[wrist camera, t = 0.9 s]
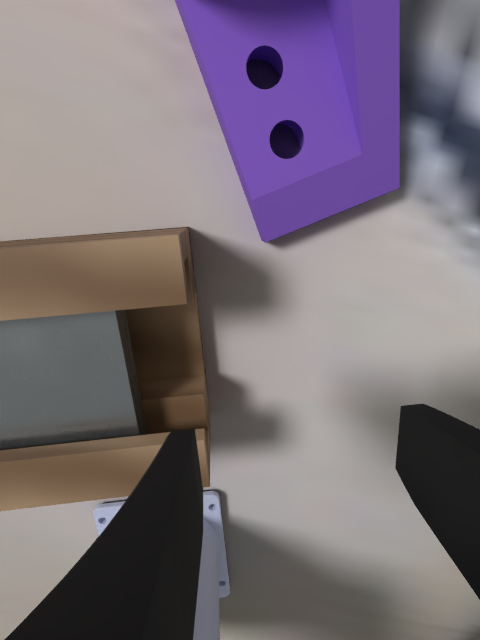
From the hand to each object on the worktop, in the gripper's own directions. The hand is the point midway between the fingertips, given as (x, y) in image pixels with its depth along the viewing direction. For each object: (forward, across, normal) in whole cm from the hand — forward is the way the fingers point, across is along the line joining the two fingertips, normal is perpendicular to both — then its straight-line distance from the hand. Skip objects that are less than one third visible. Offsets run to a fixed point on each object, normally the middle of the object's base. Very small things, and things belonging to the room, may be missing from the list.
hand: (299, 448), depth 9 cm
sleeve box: (+10, +9, 0) cm, 14 cm away
